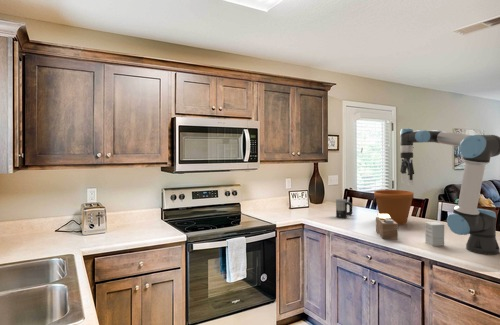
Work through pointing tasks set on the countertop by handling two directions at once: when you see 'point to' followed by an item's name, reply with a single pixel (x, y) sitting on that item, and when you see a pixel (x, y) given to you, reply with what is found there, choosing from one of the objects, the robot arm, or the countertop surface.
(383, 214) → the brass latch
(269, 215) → the countertop surface
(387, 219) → the grey block
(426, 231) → the supplement box
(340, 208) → the milk frother
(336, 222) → the countertop surface
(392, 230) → the socket block
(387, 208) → the flowerpot
